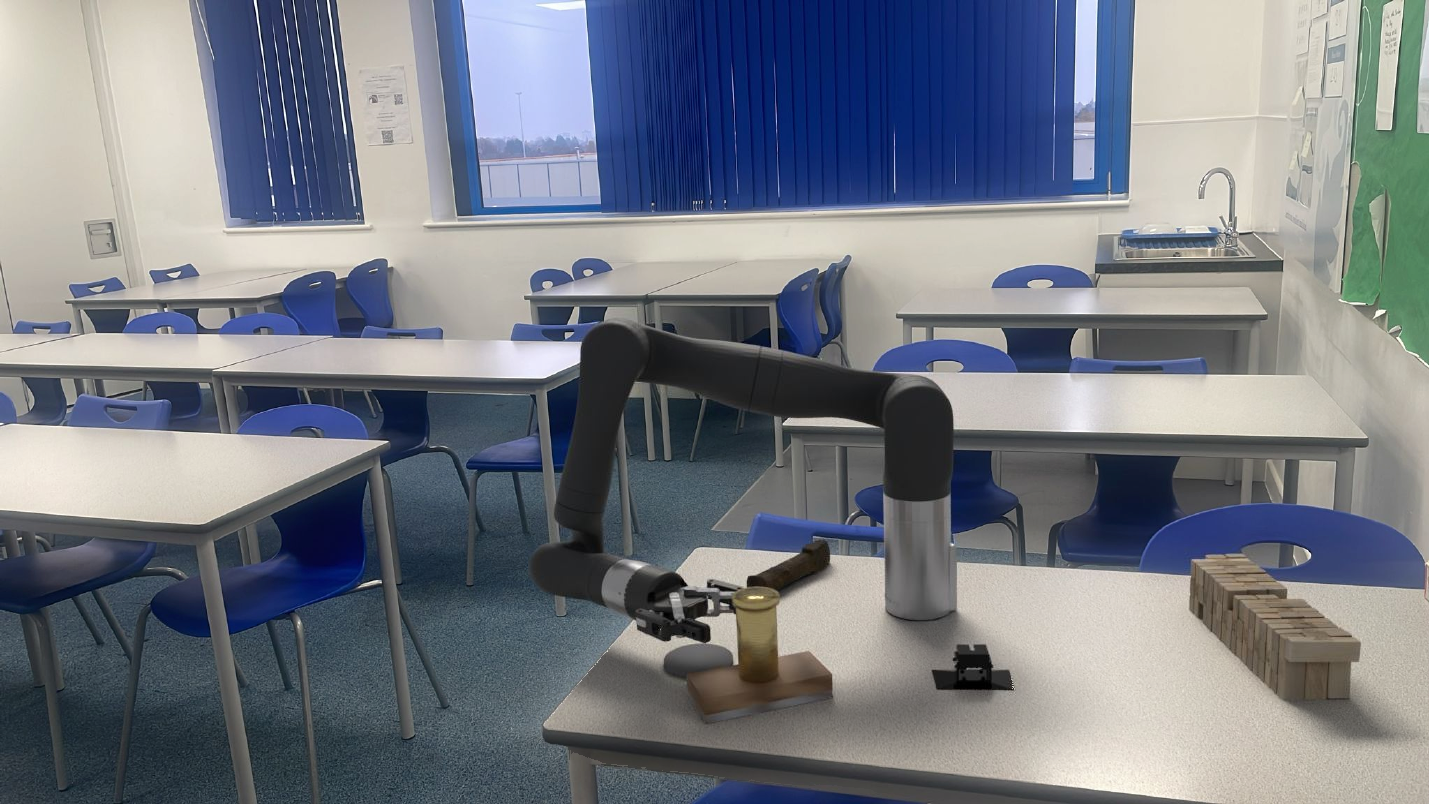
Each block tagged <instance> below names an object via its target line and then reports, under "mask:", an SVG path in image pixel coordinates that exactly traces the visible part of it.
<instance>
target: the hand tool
mask: <svg viewBox="0 0 1429 804" xmlns="http://www.w3.org/2000/svg"><path fill="white" fill-rule="evenodd" d="M830 562H831V548H830V546H829V543H828V541H827V540H825V539H818V540H814V541H813V542H810V543H807V544H805V545H804V546H802V548H801V552H799V553H798V554H796V555H795V556H793V557H790V558H788V559H786V560H784V561H782V562H780V563H778V564H777V565H775V566H771V567H769V568H768V569H766V570H763V571H761V572H759V573H758V574H755V575H748V576H747V577H746V588H747V587H767V588H771V589H774V590H776V591H777V592H778V590H780V589H782V588H784V587H786V586H788V585H790V584H792V583H794V582H796V581H798V580H799V579H801V578H803V577H805V576H806V575H810V574H809V573H812V574H811V575H817V574H818V572H819V573H821V571H823V570H824V569H825V568H827V566H828V565H829V563H830ZM816 573H817V574H816Z"/></svg>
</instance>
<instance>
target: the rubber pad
mask: <svg viewBox="0 0 1429 804" xmlns="http://www.w3.org/2000/svg"><path fill="white" fill-rule="evenodd" d="M732 665H734V655H733V653H732V651H731V650H729V649H728V648H727V647H725V646H722V645H718V644H713V643H692V644H686V645H681V646H678V647H675V648H673V649H672V650H670V651H669V652H668V653H666V654H665V656H664V658H663V666H664V669H665V671H666V672H667V673H668V674H671V675H673V676H675V677H677V678H678V677H679V678H683V679H687V674H690V673H695V672H701V671H706V670H711V669H716V668H722V667H727V666H732Z"/></svg>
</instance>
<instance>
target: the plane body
mask: <svg viewBox="0 0 1429 804" xmlns="http://www.w3.org/2000/svg"><path fill="white" fill-rule="evenodd" d="M778 662H779V676H778V677H777V678H776V679H775V680H773V681H770V682H767V683H749V682H746V681H743V680H742V679H741V678H740V677H739V667H738V663H737V664H733V665H732V666H727V667H722V668H716V669H711V670H706V671H701V672H695V673H690V674H687V678H686V687H687V698H688V700H689V701H690V703H691V705H693V708H694V709H695V711H696V712H697V713H698V715H699V716H700V718H701V720H702V721H703V723H704V724H706V725H707V724H711V723H716V722H720V721H725V720H730V719H734V718H739V717H740V718H741V717H744V716H749V715H754V714H758V713H759V714H760V713H763V712H768V711H773V710H778V709H783V708H787V707H788V708H789V707H793V706H797V705H798V706H799V705H802V704H807V703H808V704H809V703H813V702H818V701H822V700H826V699H827V700H828V699H831V698H834V693H833V692H834V690H833V684H834V683H833V674H832V672H831V671H830V670H829V669H828V668H827V667H826V666H825V665H824V664H823V663H822V662H821V661H820V660H819V659H818V658H817V657H816V656H815V655H814V654H813V653H812V652H811V651H810V650H806V651H802V652H796V653H791V654H785V655H778Z"/></svg>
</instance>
